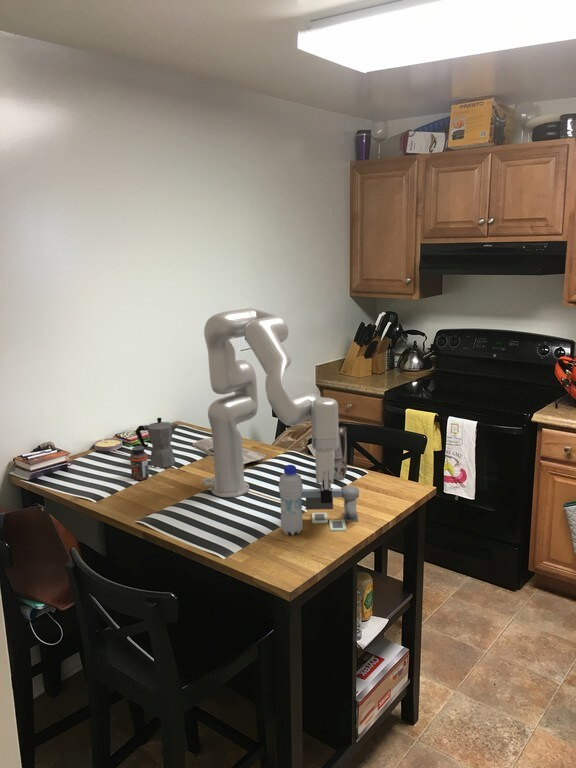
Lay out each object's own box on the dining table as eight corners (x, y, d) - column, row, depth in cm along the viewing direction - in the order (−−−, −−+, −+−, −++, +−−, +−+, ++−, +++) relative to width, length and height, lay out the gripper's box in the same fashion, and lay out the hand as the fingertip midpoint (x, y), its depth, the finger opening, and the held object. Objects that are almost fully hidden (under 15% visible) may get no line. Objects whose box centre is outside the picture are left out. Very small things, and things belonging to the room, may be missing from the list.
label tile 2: (330, 531, 176) (330, 529, 176) (329, 521, 182) (329, 519, 182) (346, 530, 176) (346, 529, 176) (344, 521, 182) (344, 519, 182)
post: (343, 521, 182) (342, 500, 180) (342, 514, 186) (342, 494, 184) (358, 521, 182) (358, 500, 180) (356, 514, 186) (356, 494, 184)
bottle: (279, 526, 179) (277, 461, 175) (302, 525, 180) (300, 460, 175) (281, 538, 173) (278, 470, 168) (305, 536, 173) (303, 469, 169)
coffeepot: (180, 457, 237) (176, 412, 233) (181, 466, 228) (178, 419, 224) (138, 462, 234) (134, 416, 230) (138, 471, 225) (134, 423, 221)
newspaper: (192, 447, 250) (192, 439, 249) (218, 440, 257) (218, 432, 256) (242, 471, 223) (242, 462, 222) (270, 463, 230) (270, 454, 230)
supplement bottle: (128, 480, 217) (125, 449, 214) (138, 474, 222) (135, 444, 220) (142, 482, 215) (139, 451, 212) (152, 475, 220) (149, 445, 217)
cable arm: (358, 504, 185) (358, 486, 184) (359, 512, 180) (359, 493, 179) (289, 505, 186) (288, 486, 185) (288, 513, 181) (288, 494, 180)
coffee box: (344, 479, 212) (344, 434, 208) (325, 478, 213) (325, 434, 209) (347, 470, 220) (347, 426, 217) (329, 469, 222) (328, 425, 218)
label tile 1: (312, 523, 181) (312, 521, 181) (311, 514, 187) (311, 512, 187) (327, 522, 181) (327, 521, 181) (326, 513, 187) (326, 512, 187)
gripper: (311, 433, 183) (313, 491, 187) (312, 451, 168) (313, 513, 173) (337, 433, 182) (338, 491, 187) (339, 450, 168) (340, 513, 172)
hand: (326, 501), depth 180 cm, fingers closed
